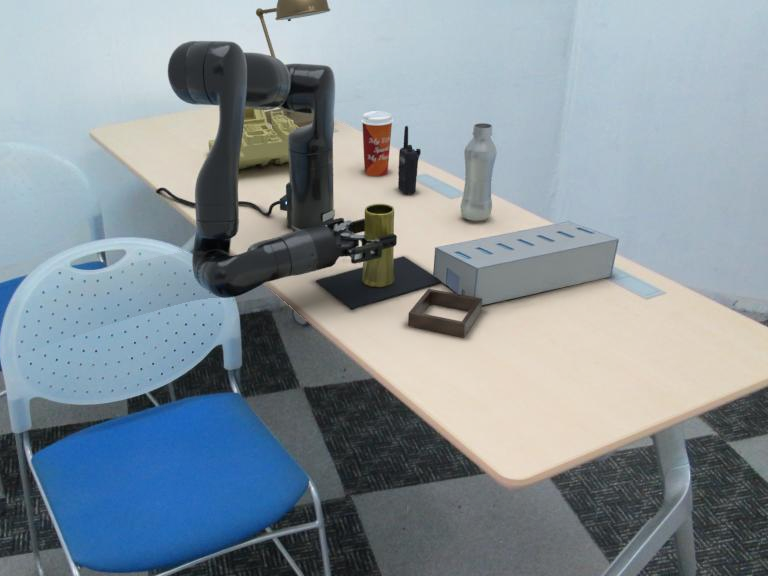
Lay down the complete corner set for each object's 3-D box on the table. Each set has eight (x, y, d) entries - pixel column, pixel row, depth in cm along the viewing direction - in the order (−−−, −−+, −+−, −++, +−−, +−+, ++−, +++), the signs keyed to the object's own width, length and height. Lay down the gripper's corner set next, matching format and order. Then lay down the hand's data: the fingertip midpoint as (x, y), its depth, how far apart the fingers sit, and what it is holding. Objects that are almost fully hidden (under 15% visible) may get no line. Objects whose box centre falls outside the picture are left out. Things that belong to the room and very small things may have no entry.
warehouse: (564, 247, 172) (570, 212, 168) (611, 276, 161) (618, 239, 156) (433, 275, 163) (435, 237, 159) (473, 307, 152) (477, 268, 148)
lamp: (294, 136, 237) (289, -11, 216) (241, 108, 261) (232, -26, 240) (341, 127, 242) (340, -17, 221) (284, 100, 267) (279, -32, 246)
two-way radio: (395, 188, 202) (397, 124, 193) (412, 186, 203) (415, 122, 194) (405, 196, 197) (407, 131, 189) (422, 193, 199) (426, 128, 190)
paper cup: (370, 180, 207) (371, 121, 199) (354, 170, 213) (355, 113, 205) (398, 173, 210) (400, 116, 202) (381, 165, 216) (382, 108, 208)
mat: (351, 309, 153) (351, 307, 153) (315, 281, 163) (315, 280, 163) (442, 283, 161) (442, 281, 161) (403, 257, 170) (403, 256, 170)
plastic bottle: (490, 225, 182) (500, 131, 171) (458, 223, 184) (465, 130, 172) (491, 213, 188) (500, 121, 176) (460, 212, 189) (467, 120, 177)
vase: (359, 274, 164) (360, 203, 156) (391, 272, 164) (393, 201, 156) (364, 289, 159) (365, 216, 151) (397, 287, 159) (399, 214, 151)
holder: (407, 326, 148) (408, 312, 146) (427, 301, 155) (428, 288, 154) (463, 337, 144) (464, 324, 143) (481, 311, 151) (482, 298, 150)
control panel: (198, 101, 218) (272, 84, 222) (207, 157, 229) (278, 140, 233) (223, 142, 202) (303, 124, 205) (231, 200, 213) (307, 182, 216)
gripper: (324, 245, 143) (405, 224, 149) (285, 217, 153) (362, 199, 159) (325, 286, 147) (403, 264, 153) (286, 256, 158) (361, 236, 164)
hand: (382, 231), depth 156 cm, fingers open, 8 cm apart
